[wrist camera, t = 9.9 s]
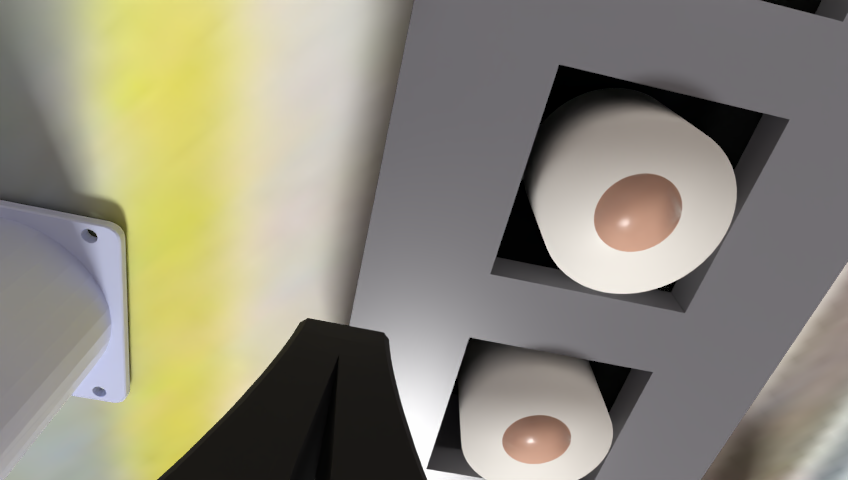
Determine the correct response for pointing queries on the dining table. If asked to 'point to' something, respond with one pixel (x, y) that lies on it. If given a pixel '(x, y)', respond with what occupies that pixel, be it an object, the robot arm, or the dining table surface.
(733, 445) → the dining table surface
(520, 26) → the mount
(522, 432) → the button
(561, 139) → the button middle
